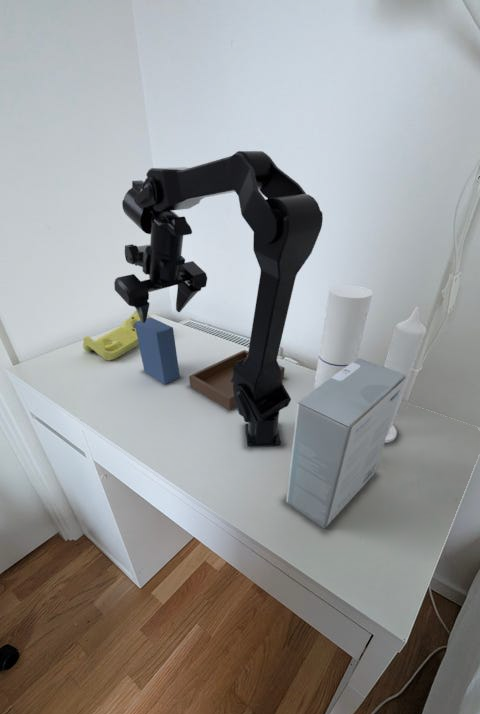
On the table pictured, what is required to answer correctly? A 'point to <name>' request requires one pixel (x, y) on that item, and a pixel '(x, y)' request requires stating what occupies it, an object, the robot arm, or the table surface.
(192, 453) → the table surface
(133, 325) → the plastic component
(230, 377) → the tray
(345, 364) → the cylindrical container
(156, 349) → the back pad
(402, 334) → the white nozzle bottle
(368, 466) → the hard drive box
